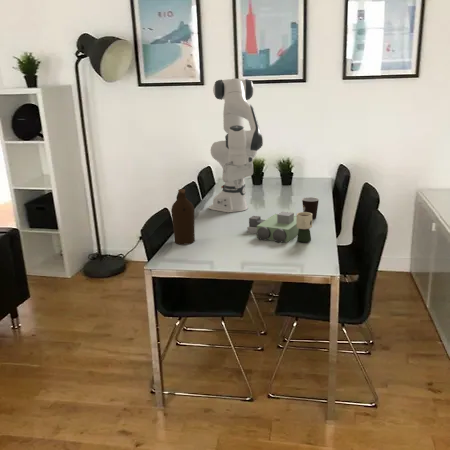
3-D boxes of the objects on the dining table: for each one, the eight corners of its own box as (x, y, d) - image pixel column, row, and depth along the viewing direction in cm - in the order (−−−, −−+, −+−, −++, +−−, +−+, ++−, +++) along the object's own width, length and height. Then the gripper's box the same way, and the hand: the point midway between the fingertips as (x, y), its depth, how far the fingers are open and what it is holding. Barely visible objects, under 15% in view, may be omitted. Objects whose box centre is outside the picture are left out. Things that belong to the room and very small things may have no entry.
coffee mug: (318, 220, 267) (318, 201, 264) (301, 219, 269) (301, 201, 266) (318, 214, 278) (319, 196, 275) (302, 213, 280) (302, 195, 277)
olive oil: (200, 241, 241) (198, 189, 234) (183, 246, 234) (179, 193, 227) (186, 236, 249) (183, 186, 241) (168, 241, 242) (165, 190, 234)
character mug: (313, 244, 231) (314, 217, 227) (297, 245, 231) (298, 217, 227) (310, 237, 241) (310, 210, 237) (294, 237, 241) (295, 211, 237)
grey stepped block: (249, 230, 254) (249, 218, 252) (253, 228, 258) (253, 215, 256) (264, 232, 250) (263, 220, 249) (268, 229, 255) (268, 217, 253)
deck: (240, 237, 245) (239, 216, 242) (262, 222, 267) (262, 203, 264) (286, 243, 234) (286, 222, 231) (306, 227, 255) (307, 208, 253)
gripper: (229, 164, 240) (229, 193, 244) (255, 157, 254) (255, 184, 259) (218, 162, 243) (219, 191, 248) (245, 156, 258) (245, 183, 262)
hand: (238, 187), depth 253 cm, fingers closed
